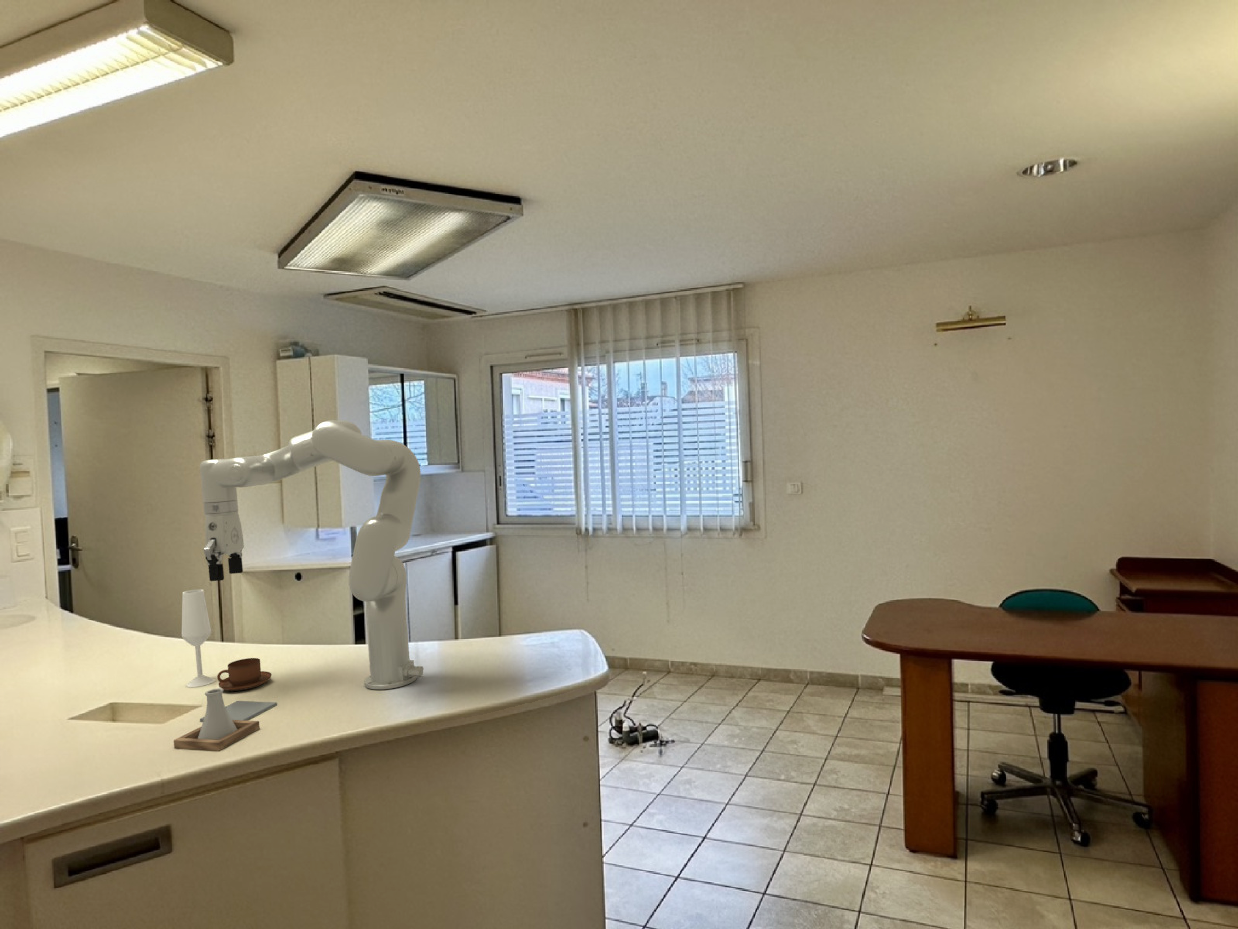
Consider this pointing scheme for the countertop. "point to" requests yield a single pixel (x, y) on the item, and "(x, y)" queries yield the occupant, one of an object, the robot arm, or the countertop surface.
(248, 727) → the square wooden frame
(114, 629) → the countertop surface
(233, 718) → the slate tile
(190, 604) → the champagne flute
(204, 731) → the flask
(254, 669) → the cup and saucer
